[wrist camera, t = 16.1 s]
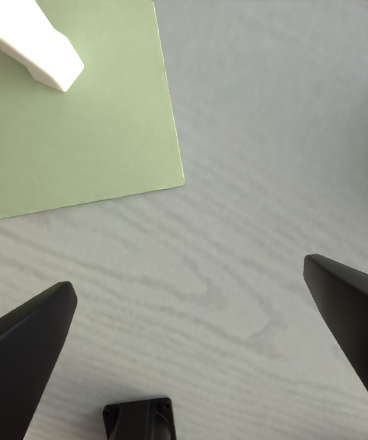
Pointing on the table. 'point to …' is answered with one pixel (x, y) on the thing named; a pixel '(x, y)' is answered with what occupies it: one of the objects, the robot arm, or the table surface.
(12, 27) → the perfume bottle
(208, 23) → the table surface
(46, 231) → the table surface
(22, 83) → the mat
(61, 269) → the table surface
